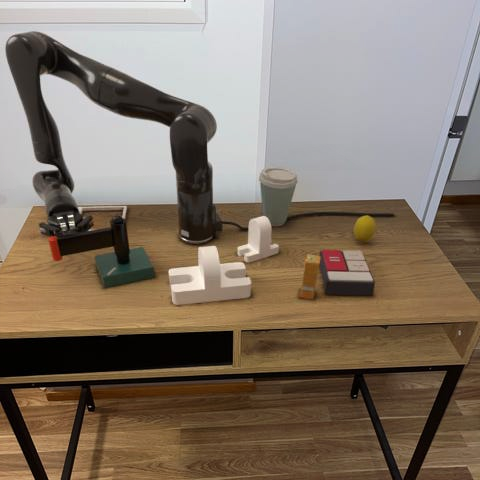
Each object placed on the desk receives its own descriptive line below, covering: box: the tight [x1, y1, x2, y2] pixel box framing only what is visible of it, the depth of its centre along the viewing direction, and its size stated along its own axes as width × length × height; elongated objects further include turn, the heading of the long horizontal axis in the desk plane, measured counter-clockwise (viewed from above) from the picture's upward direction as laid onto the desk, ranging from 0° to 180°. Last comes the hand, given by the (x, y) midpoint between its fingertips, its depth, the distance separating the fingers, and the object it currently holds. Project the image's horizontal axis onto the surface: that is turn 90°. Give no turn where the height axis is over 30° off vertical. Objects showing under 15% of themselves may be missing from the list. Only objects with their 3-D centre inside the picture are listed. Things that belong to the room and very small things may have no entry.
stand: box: [94, 246, 155, 289], centre depth 120 cm, size 12×10×5 cm
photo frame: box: [54, 205, 128, 233], centre depth 140 cm, size 15×1×18 cm
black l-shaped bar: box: [47, 214, 131, 262], centre depth 113 cm, size 17×4×10 cm, turn 114°
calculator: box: [318, 249, 376, 296], centre depth 120 cm, size 11×4×15 cm
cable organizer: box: [236, 215, 280, 264], centre depth 126 cm, size 5×10×10 cm, turn 122°
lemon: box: [353, 215, 377, 243], centre depth 133 cm, size 6×6×8 cm
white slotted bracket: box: [168, 245, 252, 306], centre depth 113 cm, size 10×18×11 cm, turn 102°
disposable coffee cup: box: [258, 166, 298, 227], centre depth 139 cm, size 11×11×15 cm
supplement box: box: [299, 253, 321, 300], centre depth 113 cm, size 3×3×10 cm
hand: (72, 241), depth 112 cm, fingers closed
